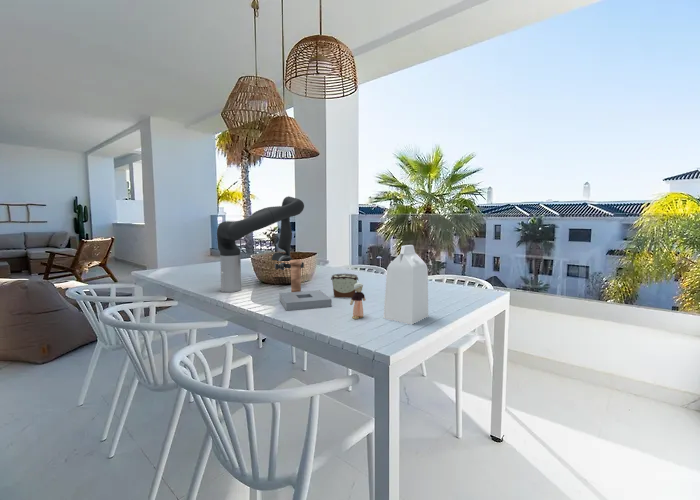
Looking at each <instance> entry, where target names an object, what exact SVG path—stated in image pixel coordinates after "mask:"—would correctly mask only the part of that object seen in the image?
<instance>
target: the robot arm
mask: <svg viewBox="0 0 700 500" xmlns="http://www.w3.org/2000/svg"><path fill="white" fill-rule="evenodd" d="M304 209H305V204H304V202H303V200H301V199H299V198H296V197H293V196H290V195H288V196H286V197H284V198H283V200H282V202H281V205H277V206H269V207H264V208H262V209H258V210H257V211H255V212H253V213H252V214H251V215H250V216H248V217H246V218H244V219H239V220H236V221H234V220H233V221H228V220H227V221H222V222H220V223H219V224H218V226H217V228H216V229H217V230H216V235H217V236H216V238H217V247H218V252H219V257H220V258H219V259H220V289H221V290H220V291H221V293H223V292H225V293H232V292H233V293H234V292H239V291H242V273H241V272H242V265H241V258H242V257H241V249H240V248H239V247H238V245H237V244H236V241H239V240H241V239H242V238H244V237H246V236H249V234H251V233H252V232H256V231H259V230H261V229H264V228H267V227H269V226H272V225H274V224H275V223H278V222H280V232H279V238H278V243H277V248H278V249H280V250H282V251H285V252H274V253H273V255H272V256H271V261H272V260H277V261H290V260H294V259H293V258H292V257H291V246H292V245H291V244H292V240H293V231H292V227H291V219H290V218H292V217H296V216H299V215H301V214H302V212H303V211H304ZM284 267H285V268H291V265H290V264H285V263H281V264H279V265H278V264H274V268H275V270H282V271H284V269H285V268H284ZM304 268H305V263H304V262H303V261H302V264H301V269H304Z"/></svg>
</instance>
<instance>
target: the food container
mask: <svg viewBox="0 0 700 500" xmlns="http://www.w3.org/2000/svg"><path fill="white" fill-rule="evenodd" d="M330 280H331V282H332V283H331V284H332V290H333V291H332V292H333V298H334V299H335V298H336V299H352V297H353V295H354V293H355V292H356V291H355V289H354V285H355V284H356V283H358V282H359V277H358V275H357V274H354V273H335V274H332V275H331V277H330Z"/></svg>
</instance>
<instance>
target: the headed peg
mask: <svg viewBox="0 0 700 500" xmlns="http://www.w3.org/2000/svg"><path fill="white" fill-rule="evenodd" d="M302 262H303V259H293V260H290V265H291V270H290V290H291V292H301V291H302V280H301V279H302V277H301V274H302V273H301V272H302V271H301V269H302V268H301V264H302Z"/></svg>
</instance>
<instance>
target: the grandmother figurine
mask: <svg viewBox="0 0 700 500" xmlns="http://www.w3.org/2000/svg"><path fill="white" fill-rule="evenodd" d="M363 288H364V284H363V283H361V282H359V281H357V283H356V284H355V285H354V289H355V291H356V292H355V293H354V295H353V297H352V298H350V299H351V300H350V302H349V304H350V306H352V305H353V309H352V319H353V320H358V319H359V320H360V318H364V307H363V302H365V301H366V295H365V294H364V292H362V291H363Z"/></svg>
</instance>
